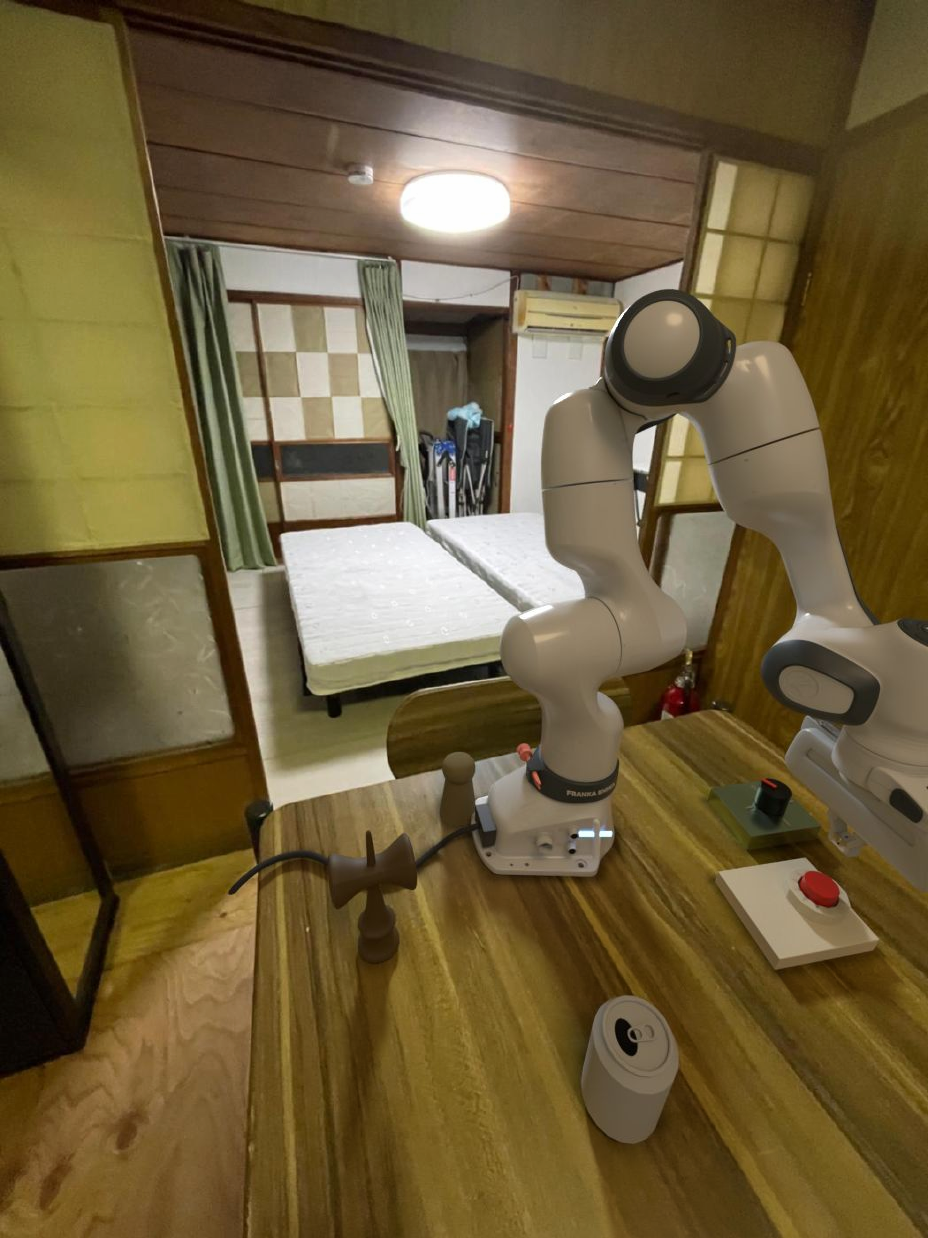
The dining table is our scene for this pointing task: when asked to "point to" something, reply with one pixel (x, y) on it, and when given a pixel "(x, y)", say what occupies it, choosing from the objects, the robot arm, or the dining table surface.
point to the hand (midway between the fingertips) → (841, 847)
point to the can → (628, 1068)
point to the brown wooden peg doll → (458, 789)
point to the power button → (819, 888)
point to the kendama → (373, 892)
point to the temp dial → (773, 796)
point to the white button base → (792, 915)
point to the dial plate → (761, 818)
